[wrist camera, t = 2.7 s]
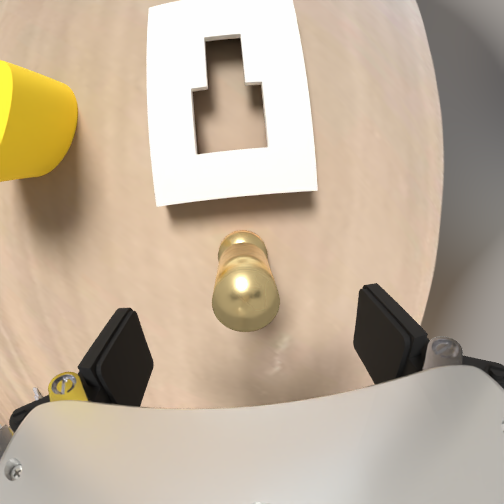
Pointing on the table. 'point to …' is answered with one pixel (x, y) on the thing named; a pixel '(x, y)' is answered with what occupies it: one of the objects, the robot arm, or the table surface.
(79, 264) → the table surface
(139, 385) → the robot arm
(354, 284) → the table surface
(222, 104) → the table surface
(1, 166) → the yellow toilet paper roll
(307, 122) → the keyhole plate
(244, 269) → the brass peg
